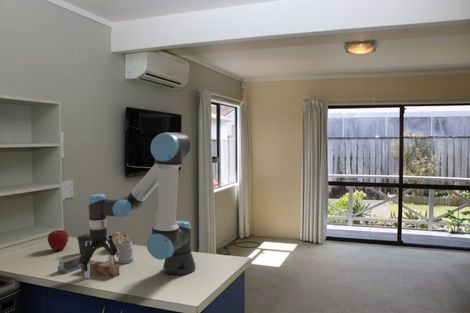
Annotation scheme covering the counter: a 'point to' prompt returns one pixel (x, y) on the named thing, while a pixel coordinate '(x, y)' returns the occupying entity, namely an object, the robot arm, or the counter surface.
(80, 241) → the coffee cup
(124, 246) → the mug
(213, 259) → the counter surface
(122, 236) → the rock
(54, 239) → the apple
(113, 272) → the walnut bar
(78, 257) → the ridge
